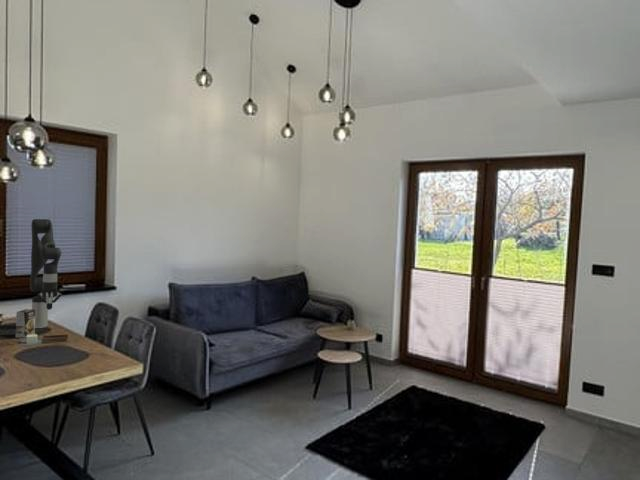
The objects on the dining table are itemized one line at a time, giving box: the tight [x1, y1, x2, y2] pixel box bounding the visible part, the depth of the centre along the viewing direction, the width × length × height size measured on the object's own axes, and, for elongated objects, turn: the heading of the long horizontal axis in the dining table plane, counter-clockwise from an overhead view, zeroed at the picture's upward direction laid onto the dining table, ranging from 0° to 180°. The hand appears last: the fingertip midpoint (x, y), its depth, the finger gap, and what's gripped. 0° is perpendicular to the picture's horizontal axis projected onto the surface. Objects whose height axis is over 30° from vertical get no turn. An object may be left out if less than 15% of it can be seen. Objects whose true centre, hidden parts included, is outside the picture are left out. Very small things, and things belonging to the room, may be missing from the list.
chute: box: [41, 333, 69, 345], centre depth 274 cm, size 12×13×3 cm
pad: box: [19, 338, 43, 346], centre depth 269 cm, size 12×11×1 cm
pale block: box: [26, 333, 38, 344], centre depth 269 cm, size 5×5×4 cm
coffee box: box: [15, 308, 36, 339], centre depth 282 cm, size 9×6×16 cm
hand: (49, 309), depth 272 cm, fingers closed
